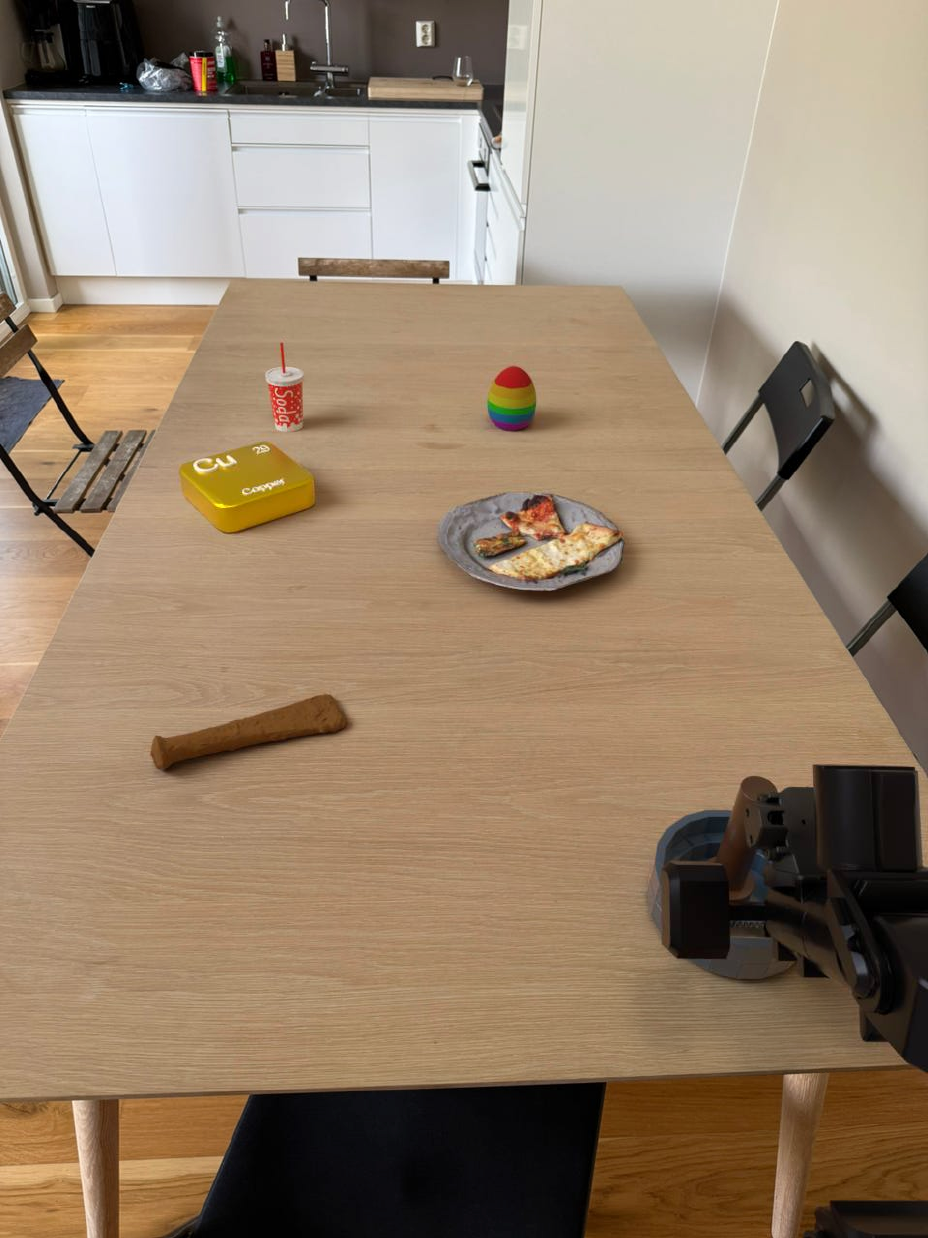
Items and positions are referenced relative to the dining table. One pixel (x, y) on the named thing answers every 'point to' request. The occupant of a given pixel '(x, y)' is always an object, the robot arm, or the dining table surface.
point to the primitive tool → (252, 730)
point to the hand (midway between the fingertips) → (756, 890)
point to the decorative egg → (512, 399)
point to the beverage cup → (286, 396)
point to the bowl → (700, 843)
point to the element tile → (247, 486)
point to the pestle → (741, 841)
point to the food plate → (530, 540)
